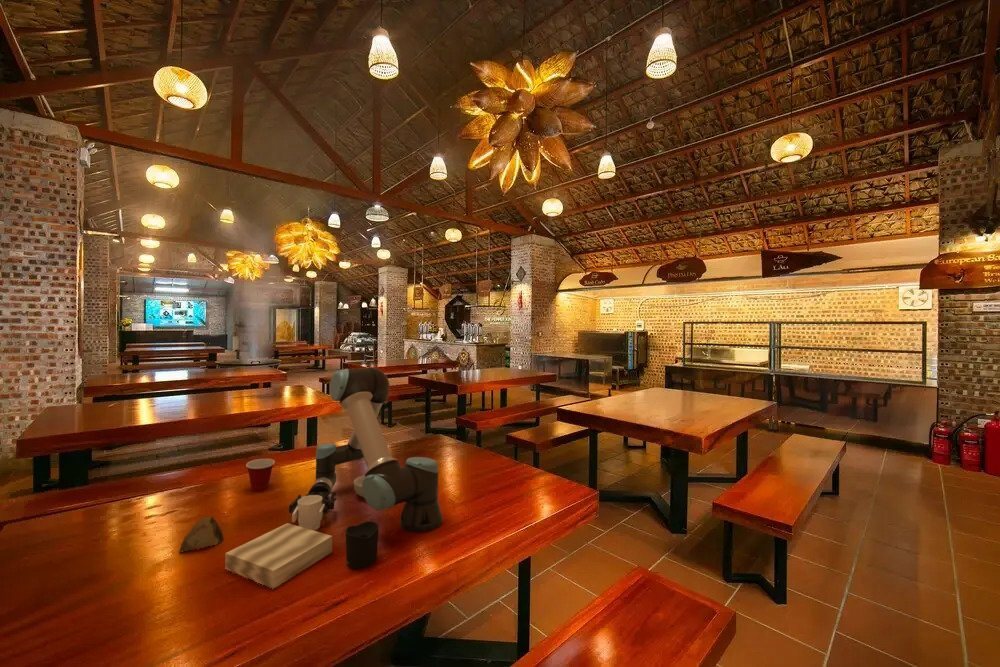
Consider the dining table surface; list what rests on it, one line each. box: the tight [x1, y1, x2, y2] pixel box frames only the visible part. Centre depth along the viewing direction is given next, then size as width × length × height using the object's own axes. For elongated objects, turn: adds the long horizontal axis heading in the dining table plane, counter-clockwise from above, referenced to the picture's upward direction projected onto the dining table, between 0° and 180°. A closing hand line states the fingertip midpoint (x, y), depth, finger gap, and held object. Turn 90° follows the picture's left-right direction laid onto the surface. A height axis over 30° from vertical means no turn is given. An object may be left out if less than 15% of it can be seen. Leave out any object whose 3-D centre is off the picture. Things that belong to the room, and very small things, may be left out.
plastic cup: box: [245, 458, 276, 493], centre depth 171 cm, size 11×11×12 cm
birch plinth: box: [224, 522, 333, 590], centre depth 118 cm, size 20×20×5 cm
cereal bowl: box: [353, 474, 366, 498], centre depth 167 cm, size 17×17×7 cm
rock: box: [179, 516, 225, 553], centre depth 126 cm, size 11×9×10 cm
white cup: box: [297, 495, 322, 531], centre depth 138 cm, size 8×8×10 cm
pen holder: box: [345, 520, 380, 570], centre depth 119 cm, size 9×9×10 cm
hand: (306, 517), depth 134 cm, fingers closed on white cup, 8 cm apart
